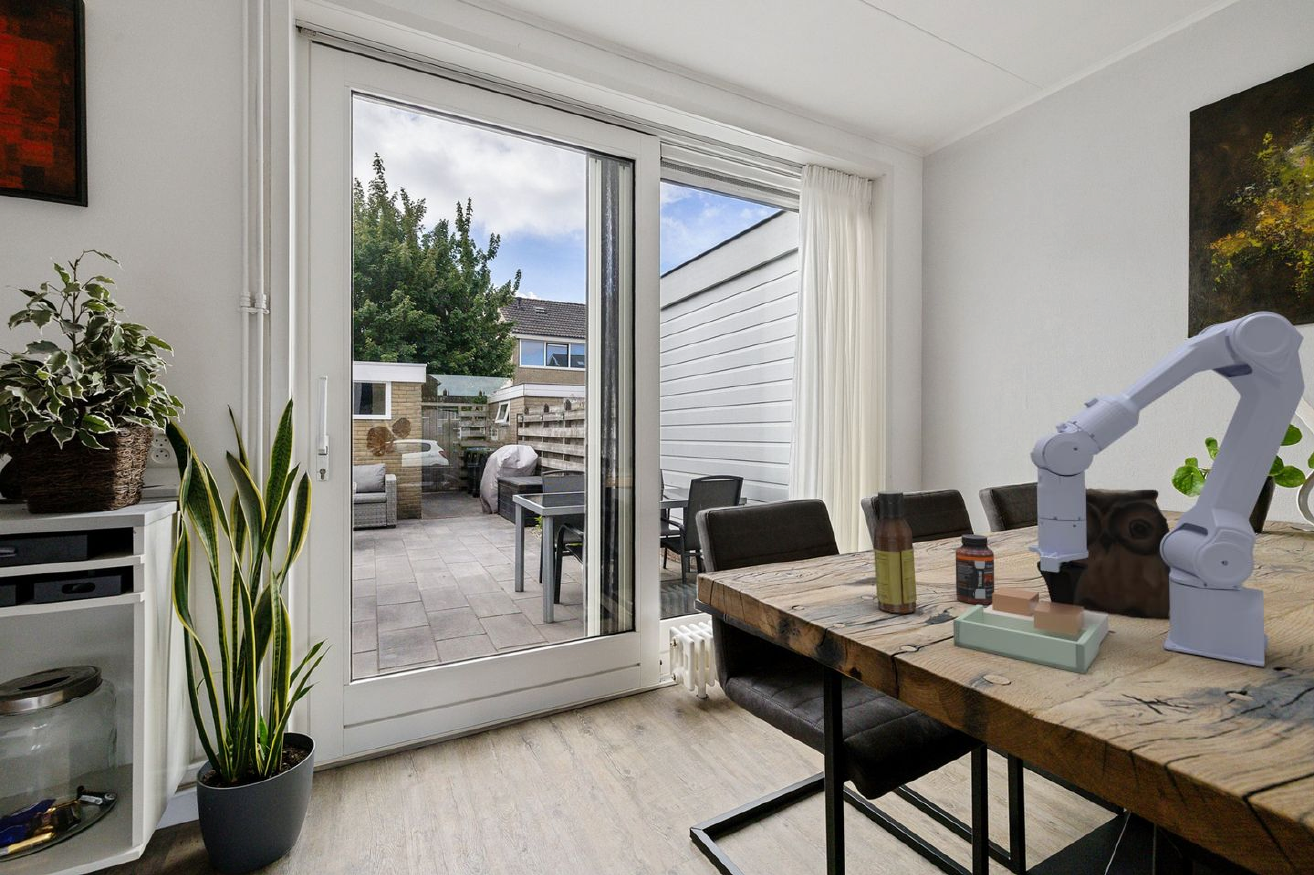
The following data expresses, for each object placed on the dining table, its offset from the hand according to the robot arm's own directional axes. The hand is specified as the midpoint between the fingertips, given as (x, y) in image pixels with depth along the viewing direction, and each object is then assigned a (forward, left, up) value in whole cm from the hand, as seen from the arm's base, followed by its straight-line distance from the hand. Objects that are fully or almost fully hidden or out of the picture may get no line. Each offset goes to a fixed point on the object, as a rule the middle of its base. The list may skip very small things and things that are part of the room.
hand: (1062, 613), depth 85 cm
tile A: (0, +3, -1) cm, 3 cm away
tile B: (+6, -2, -1) cm, 7 cm away
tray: (+3, +8, -4) cm, 9 cm away
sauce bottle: (+23, +2, -4) cm, 24 cm away
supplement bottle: (+15, -12, -4) cm, 20 cm away
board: (+3, -2, -4) cm, 5 cm away
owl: (-4, -23, -4) cm, 24 cm away
